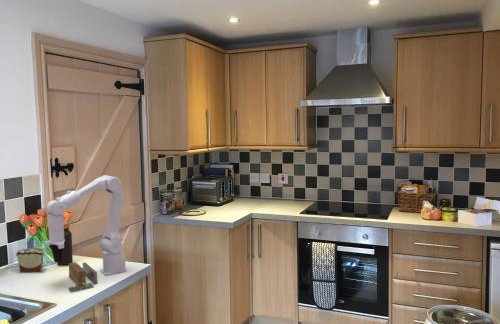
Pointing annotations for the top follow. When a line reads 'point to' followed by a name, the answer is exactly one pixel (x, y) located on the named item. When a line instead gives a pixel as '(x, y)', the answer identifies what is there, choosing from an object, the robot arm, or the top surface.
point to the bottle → (66, 247)
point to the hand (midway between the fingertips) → (57, 261)
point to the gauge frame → (90, 274)
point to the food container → (30, 260)
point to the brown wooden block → (77, 274)
